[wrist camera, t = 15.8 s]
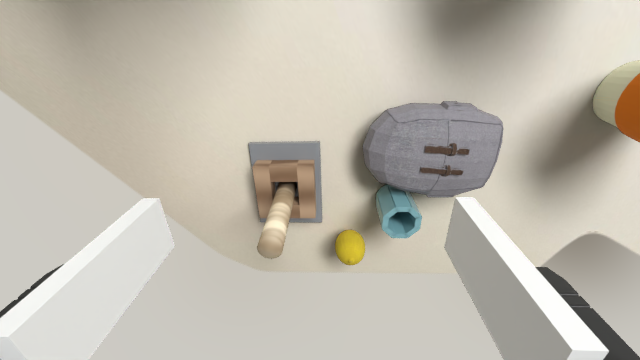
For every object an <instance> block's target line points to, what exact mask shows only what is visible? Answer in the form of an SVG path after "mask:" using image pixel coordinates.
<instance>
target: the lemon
mask: <svg viewBox="0 0 640 360" xmlns="http://www.w3.org/2000/svg"><path fill="white" fill-rule="evenodd" d="M335 251H336V254H337V256H338V258H339V259H340V261H341V262H343V263H344V264H347V265H355V264H357V263H359V262H360V261H361V260H362V258H363V256H364V253H365V243H364V240H363V238H362V236H361V235H360V234H359V233H358V232H356V231H354V230H345V231H343V232H341V233H340V234H339V235H338V237H337V239H336V242H335Z"/></svg>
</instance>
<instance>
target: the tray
mask: <svg viewBox="0 0 640 360" xmlns="http://www.w3.org/2000/svg"><path fill="white" fill-rule="evenodd" d="M249 150H250V157H251V163H252V167H253V165H254V164H255V162H256V161H257V160H314V161H315V186H316V218H290V219H289V222H322V193H321V159H320V141H303V142H250V143H249ZM252 170H253V169H252ZM253 177H254V176H253ZM254 184H255V182H254ZM278 185H279V182H275V189H276V191H277V188H278ZM296 185H297V188H296V192H295V197H299V192H298V182H296ZM255 190H256V189H255ZM256 197H257V196H256ZM257 204H258V202H257ZM258 210H259V209H258ZM259 217H260V216H259ZM266 220H267V218H260V222H266Z"/></svg>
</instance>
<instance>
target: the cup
mask: <svg viewBox="0 0 640 360" xmlns="http://www.w3.org/2000/svg"><path fill="white" fill-rule="evenodd" d="M376 207H377V211H378V215H379V219H380V223H381V227H382V230H383V231H385V232H386V233H387V234H388V235H389V236H390V237H391V238H407V237H410V236H411V235H413V234H414V233H415V232H417V231H418V230H419V229H420V225H421V219H422V216H421V214H420V212H419V210H418V208H417V206H416V204H415V202H414V200H413V198H412V196H411V194H410V193H409V192H408V191H403V190H400V189H398V188H395V187H393V186H390V185H388V184H386V185H384V186H383V187H381V188H380V189H379V190H378V192H377V194H376Z"/></svg>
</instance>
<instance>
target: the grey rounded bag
mask: <svg viewBox="0 0 640 360" xmlns="http://www.w3.org/2000/svg"><path fill="white" fill-rule="evenodd" d="M502 137H503V123H502V121H501V120H500V119H499V118H498V117H497V116H494V115H491V114H489V113H486V112H483V111H481V110H478V109H477V108H476V107H475V106H473V105H472V104H470V103H458V102H457V101H443V102H442V103H441V104H426V103H410V104H406V105H402V106H398V107H394V108H390V109H387V110H386V111H385V112H384V113H383V114H382V115H381V116H380V117H379V118H377V119H376V120H375V121H374V122H373V123H372V125H371V126H370V127H369V130H368V133H367V136H366V138H365V141H364V144H363V153H364V160H365V165H366V167H367V168H368V169H369V170H370V172H371V173H372V174H373V176H374V177H375V178H376V180H377V181H379V182H380V183H386V184H388V185H390V186H393V187H395V188H398V189H400V190H403V191H409V192H415V193H420V194H426V195H427V196H428V197H453V196H455V195H457V194H461V193H464V192H468V191H471V190H475V189H478V188H481V187H483V186H484V185H485V183H486V182H487V180H488V179H489V178H490V175H491V173H492V171H493V169H494V166H495V164H496V162H497V159H498V155H499V151H500V148H501V144H502Z"/></svg>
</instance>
